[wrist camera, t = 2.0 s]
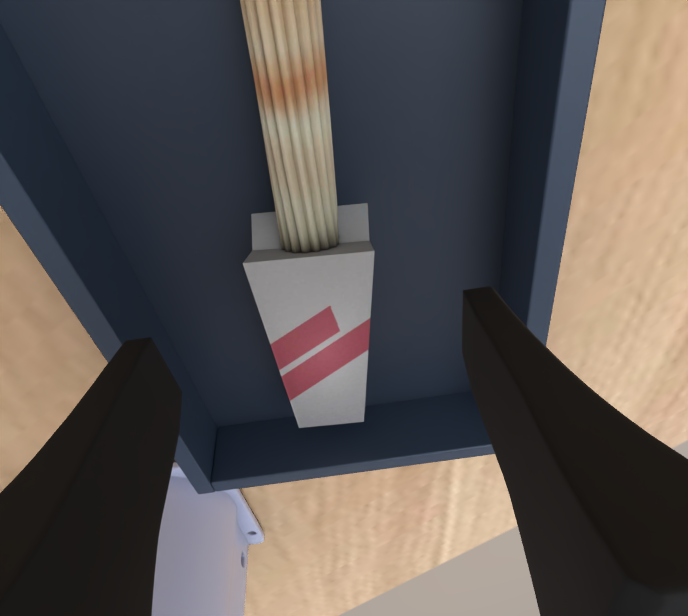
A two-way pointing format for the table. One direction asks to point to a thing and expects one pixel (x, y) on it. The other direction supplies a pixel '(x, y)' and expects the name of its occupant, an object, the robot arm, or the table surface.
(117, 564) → the robot arm
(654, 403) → the table surface
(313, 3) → the churro in paper sleeve
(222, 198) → the dark blue tray
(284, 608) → the table surface
